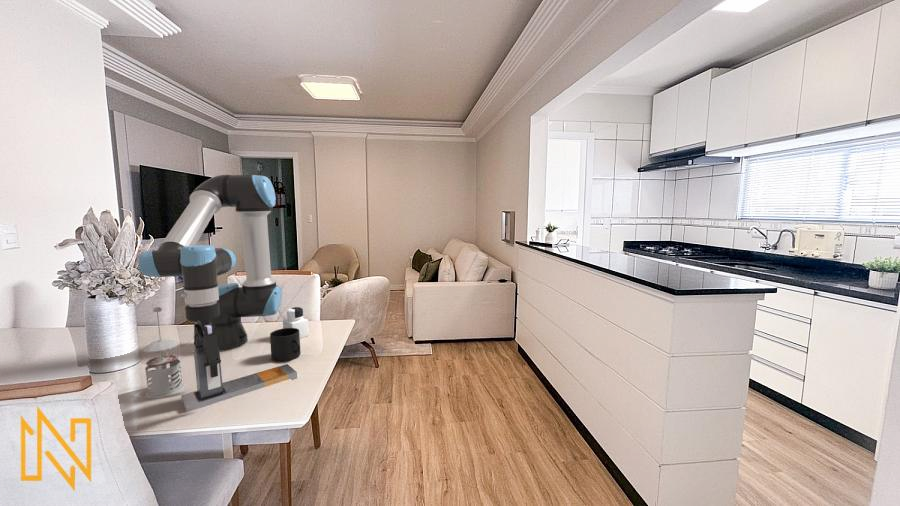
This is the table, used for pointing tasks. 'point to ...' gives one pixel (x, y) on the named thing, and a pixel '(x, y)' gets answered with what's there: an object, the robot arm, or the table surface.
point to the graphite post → (204, 376)
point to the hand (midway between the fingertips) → (208, 379)
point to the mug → (285, 344)
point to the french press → (163, 368)
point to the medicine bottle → (296, 321)
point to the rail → (241, 386)
